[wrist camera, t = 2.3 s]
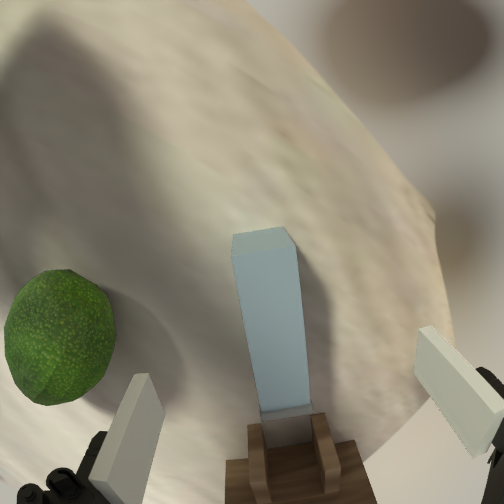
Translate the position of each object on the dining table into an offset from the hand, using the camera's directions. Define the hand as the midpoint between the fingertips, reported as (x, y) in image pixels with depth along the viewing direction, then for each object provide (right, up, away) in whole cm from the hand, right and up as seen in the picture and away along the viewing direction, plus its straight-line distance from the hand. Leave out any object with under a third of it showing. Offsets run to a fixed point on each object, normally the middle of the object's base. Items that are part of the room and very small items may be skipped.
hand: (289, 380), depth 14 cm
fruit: (-19, -1, +14) cm, 23 cm away
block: (0, +1, +14) cm, 14 cm away
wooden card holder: (+3, -16, +18) cm, 25 cm away
